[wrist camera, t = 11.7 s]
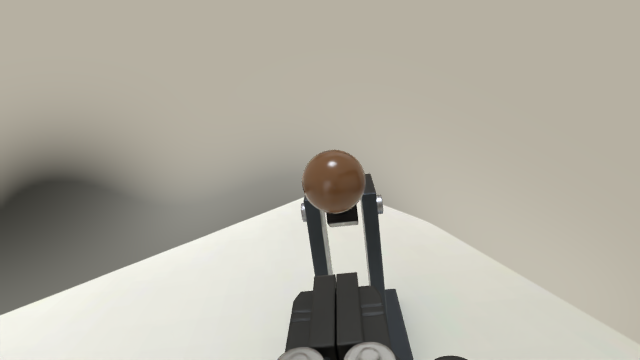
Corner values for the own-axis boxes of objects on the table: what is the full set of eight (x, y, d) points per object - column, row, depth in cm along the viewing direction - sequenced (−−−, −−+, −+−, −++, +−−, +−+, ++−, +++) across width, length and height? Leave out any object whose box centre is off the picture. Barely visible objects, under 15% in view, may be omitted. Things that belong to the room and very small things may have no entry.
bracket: (417, 383, 28) (405, 205, 24) (306, 391, 29) (276, 219, 25) (396, 299, 38) (385, 161, 34) (313, 306, 38) (292, 172, 34)
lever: (370, 204, 18) (362, 137, 19) (300, 212, 18) (295, 146, 19) (365, 229, 31) (360, 188, 31) (324, 233, 31) (320, 193, 31)
